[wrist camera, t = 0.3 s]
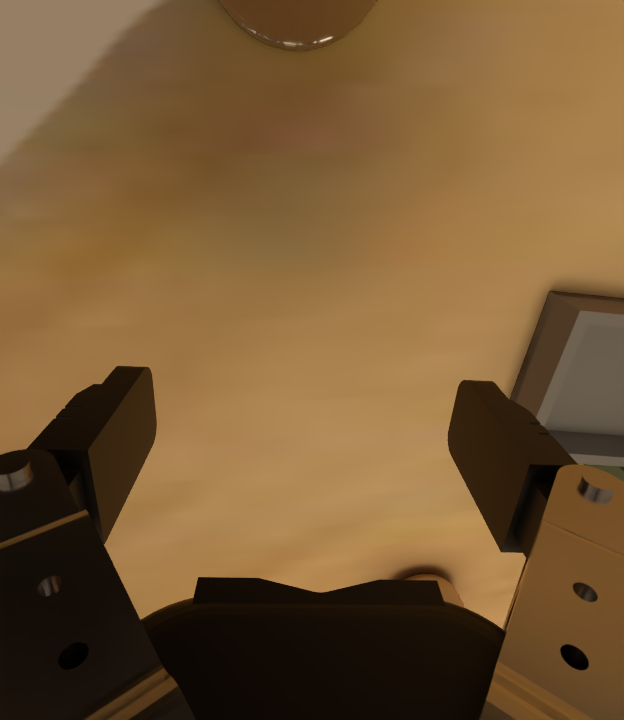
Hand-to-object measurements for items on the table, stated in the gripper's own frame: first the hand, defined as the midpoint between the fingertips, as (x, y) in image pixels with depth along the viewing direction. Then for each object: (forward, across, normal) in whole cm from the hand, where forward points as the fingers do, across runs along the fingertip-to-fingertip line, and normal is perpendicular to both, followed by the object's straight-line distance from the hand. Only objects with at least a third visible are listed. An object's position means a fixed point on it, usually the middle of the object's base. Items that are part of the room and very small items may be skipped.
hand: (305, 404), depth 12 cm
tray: (+18, -22, +7) cm, 29 cm away
